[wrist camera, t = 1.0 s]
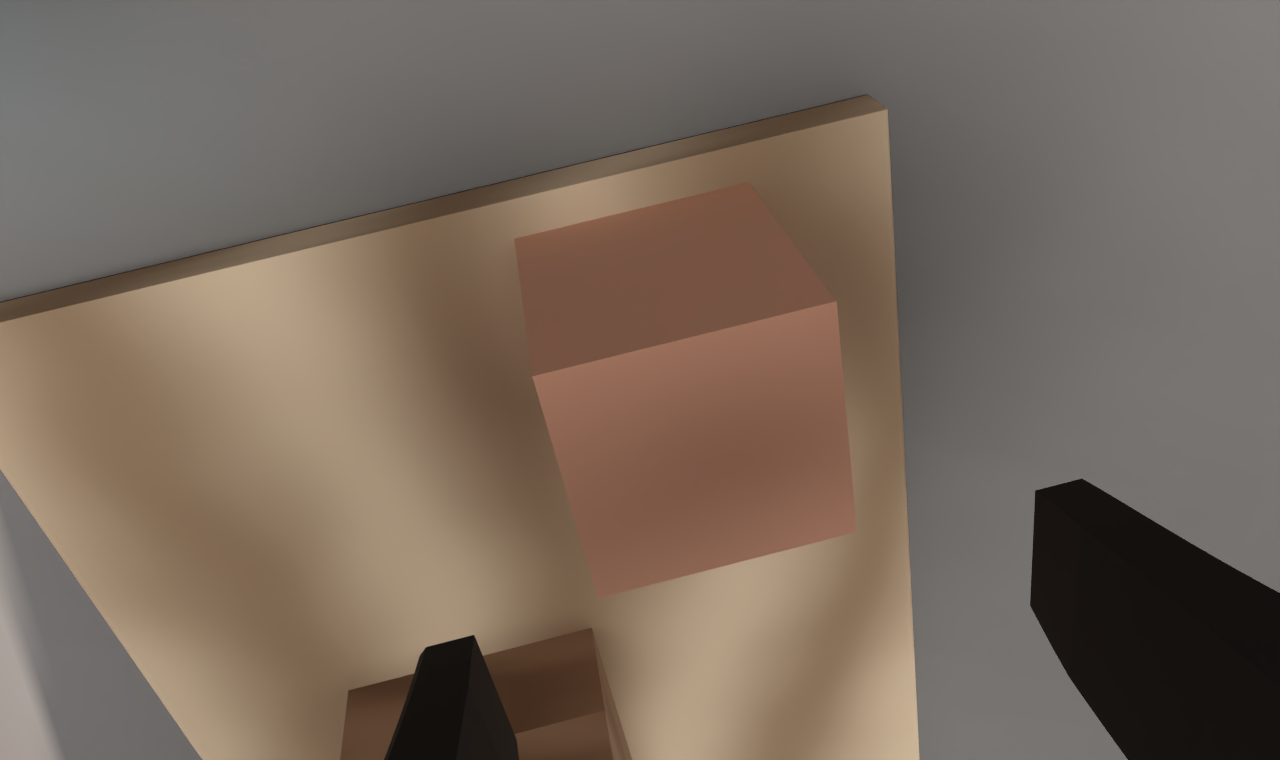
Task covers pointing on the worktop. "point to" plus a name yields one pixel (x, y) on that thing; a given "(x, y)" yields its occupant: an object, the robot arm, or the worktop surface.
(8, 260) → the worktop surface
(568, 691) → the slab low
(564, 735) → the slab high
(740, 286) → the block
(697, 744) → the board
